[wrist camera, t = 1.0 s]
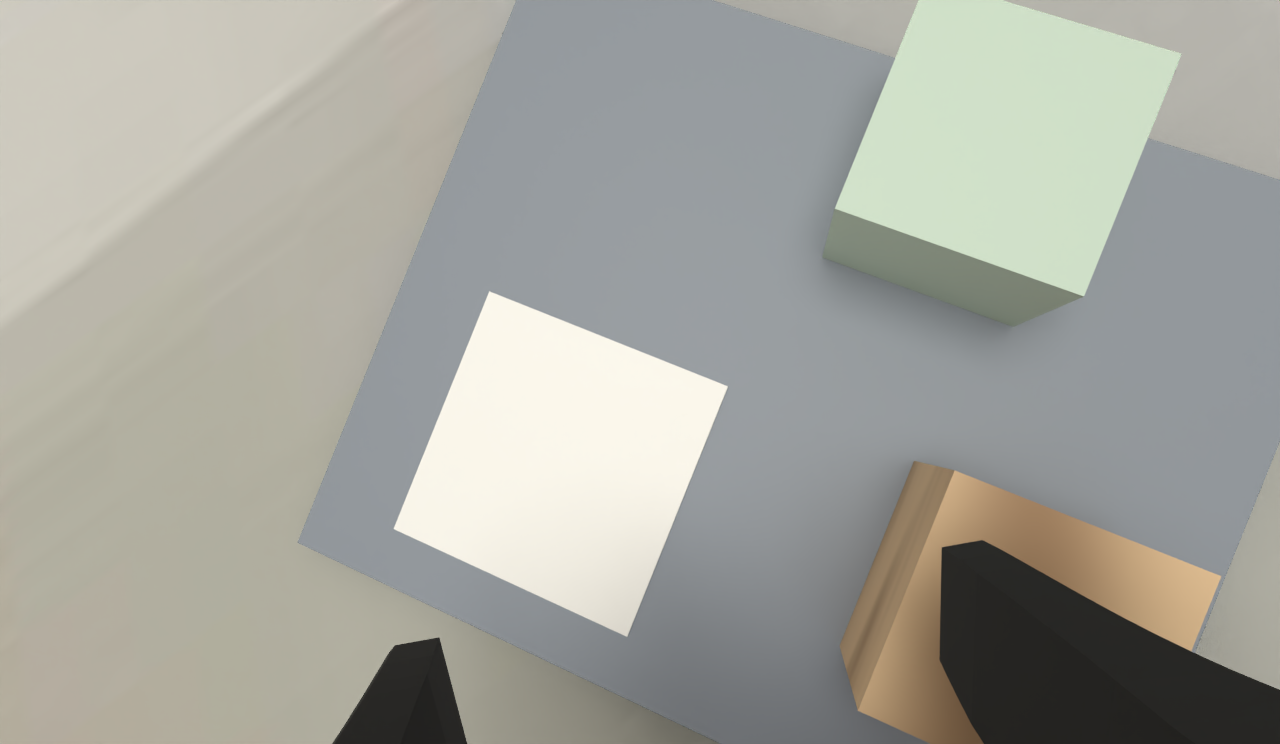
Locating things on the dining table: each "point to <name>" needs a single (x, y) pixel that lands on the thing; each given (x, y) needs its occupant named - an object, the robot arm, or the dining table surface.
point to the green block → (998, 157)
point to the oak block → (1037, 535)
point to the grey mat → (759, 371)
